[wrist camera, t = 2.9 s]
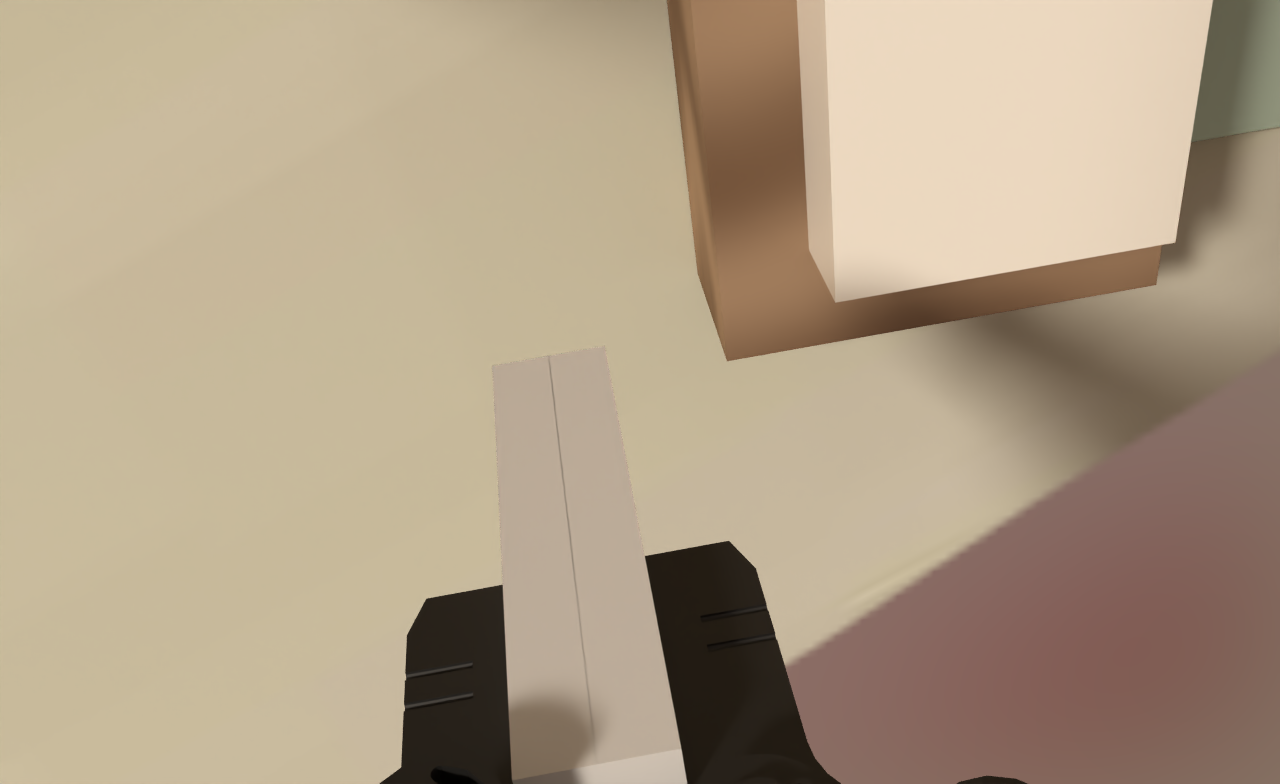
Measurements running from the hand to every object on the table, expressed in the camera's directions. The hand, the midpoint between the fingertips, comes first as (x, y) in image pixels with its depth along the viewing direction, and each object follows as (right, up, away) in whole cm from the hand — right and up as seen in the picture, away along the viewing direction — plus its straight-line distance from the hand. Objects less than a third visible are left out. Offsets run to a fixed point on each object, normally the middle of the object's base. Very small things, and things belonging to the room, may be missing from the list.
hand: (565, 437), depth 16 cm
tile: (+8, +7, +7) cm, 13 cm away
